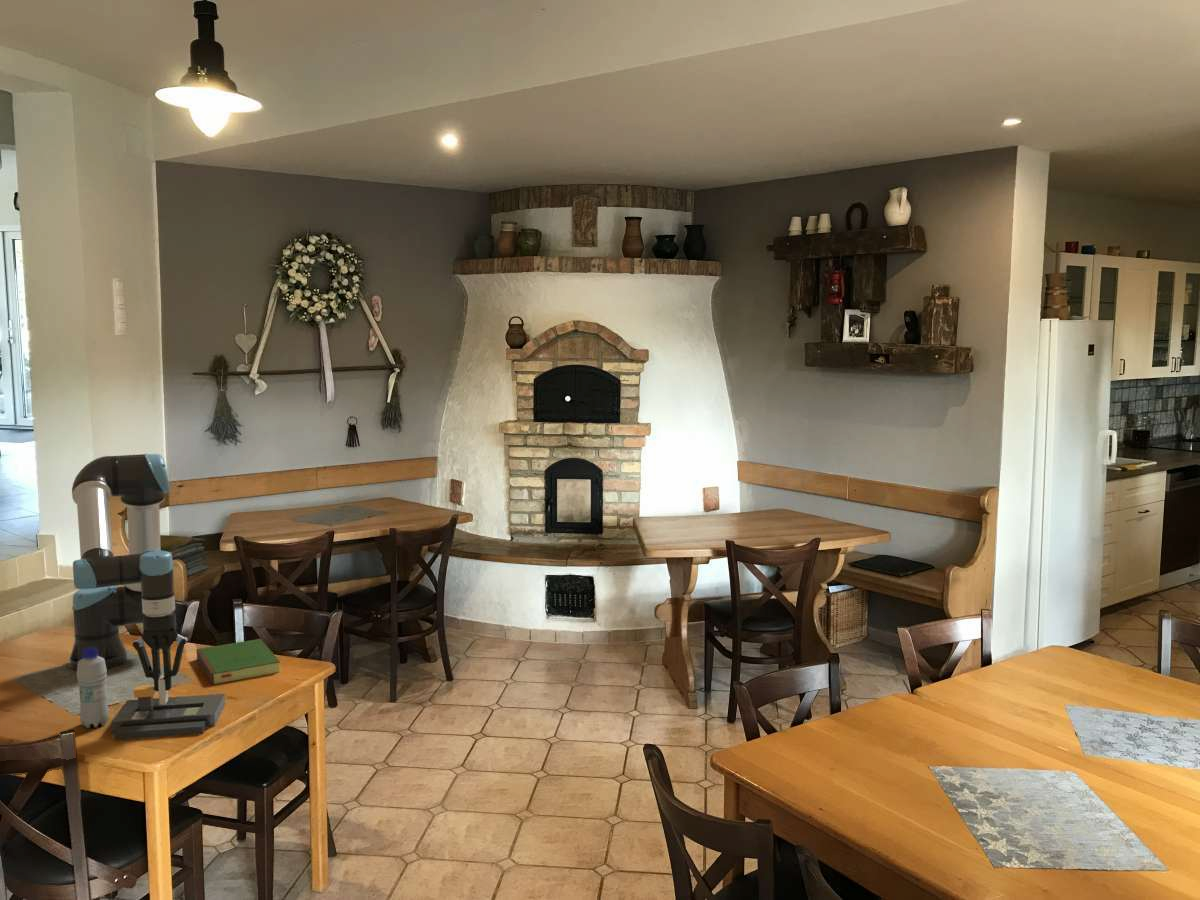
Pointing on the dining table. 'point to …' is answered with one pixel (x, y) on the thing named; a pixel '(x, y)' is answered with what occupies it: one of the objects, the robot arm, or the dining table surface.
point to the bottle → (92, 688)
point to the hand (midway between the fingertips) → (163, 702)
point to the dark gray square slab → (160, 730)
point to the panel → (172, 711)
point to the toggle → (144, 697)
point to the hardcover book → (237, 661)
